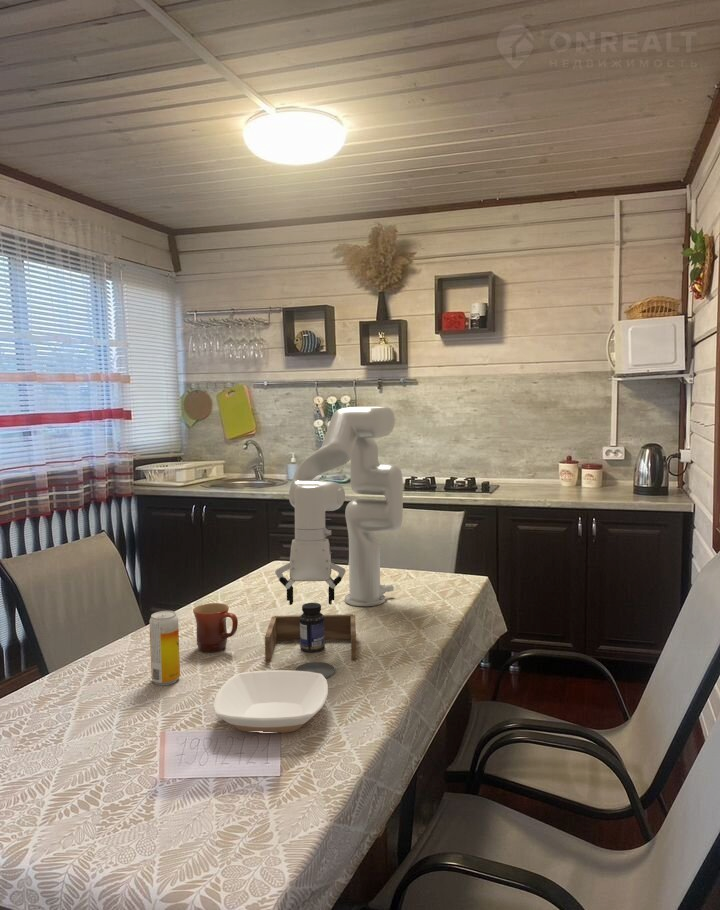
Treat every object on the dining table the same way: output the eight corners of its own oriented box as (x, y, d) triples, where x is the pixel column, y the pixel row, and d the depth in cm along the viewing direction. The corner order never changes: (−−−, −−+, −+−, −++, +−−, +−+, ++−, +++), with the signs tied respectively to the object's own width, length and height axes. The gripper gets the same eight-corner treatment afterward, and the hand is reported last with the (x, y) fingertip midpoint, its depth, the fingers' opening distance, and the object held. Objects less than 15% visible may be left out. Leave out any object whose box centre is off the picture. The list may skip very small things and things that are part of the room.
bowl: (230, 693, 140) (229, 669, 140) (332, 694, 140) (331, 669, 139) (203, 746, 119) (202, 718, 118) (323, 747, 118) (322, 718, 118)
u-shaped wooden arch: (272, 638, 173) (272, 615, 172) (355, 636, 173) (355, 614, 173) (265, 661, 157) (264, 636, 157) (356, 659, 158) (356, 635, 157)
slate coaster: (323, 661, 157) (323, 659, 157) (342, 674, 149) (342, 671, 149) (288, 669, 152) (288, 667, 152) (306, 683, 145) (306, 681, 145)
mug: (186, 651, 164) (185, 611, 164) (209, 640, 172) (207, 601, 171) (226, 658, 159) (225, 617, 158) (247, 646, 167) (246, 606, 166)
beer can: (185, 676, 149) (183, 611, 148) (169, 687, 143) (167, 620, 142) (162, 673, 151) (160, 609, 150) (145, 684, 145) (143, 617, 144)
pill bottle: (326, 644, 168) (325, 601, 167) (322, 653, 162) (322, 609, 161) (302, 643, 169) (301, 601, 168) (298, 652, 163) (297, 608, 162)
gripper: (345, 531, 167) (345, 598, 168) (276, 532, 167) (277, 599, 168) (345, 537, 159) (345, 607, 160) (273, 537, 159) (274, 608, 160)
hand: (310, 603), depth 164 cm, fingers open, 9 cm apart
